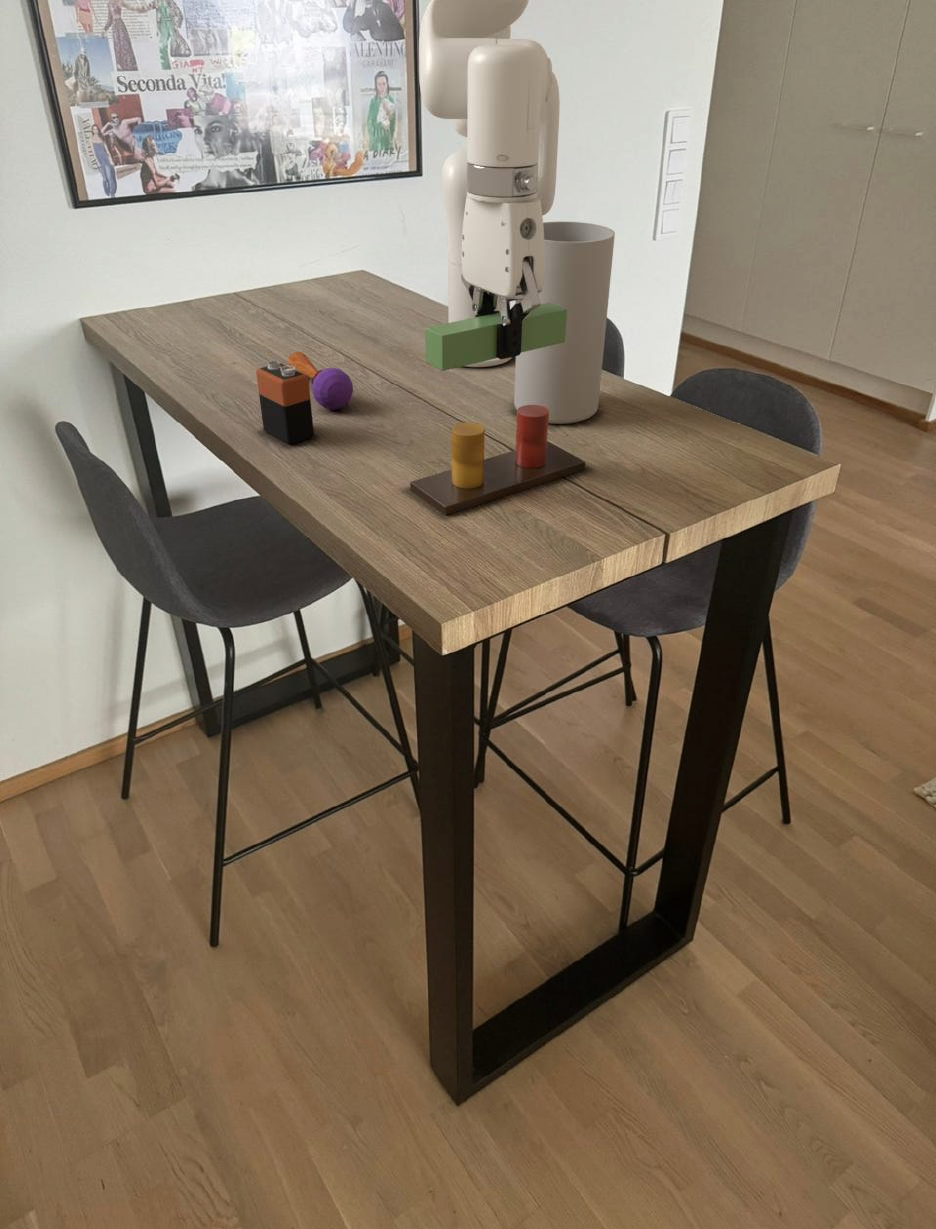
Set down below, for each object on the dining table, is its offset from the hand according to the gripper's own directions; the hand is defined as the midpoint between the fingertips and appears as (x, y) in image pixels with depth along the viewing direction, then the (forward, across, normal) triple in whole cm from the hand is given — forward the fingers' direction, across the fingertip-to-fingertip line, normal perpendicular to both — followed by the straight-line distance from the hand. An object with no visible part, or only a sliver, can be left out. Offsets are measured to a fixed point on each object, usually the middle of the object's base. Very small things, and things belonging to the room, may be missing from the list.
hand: (497, 350), depth 106 cm
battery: (+17, +27, +16) cm, 36 cm away
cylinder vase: (+17, +13, -21) cm, 30 cm away
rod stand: (+17, -1, 0) cm, 17 cm away
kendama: (+17, +39, +5) cm, 43 cm away
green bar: (0, 0, 0) cm, 0 cm away
